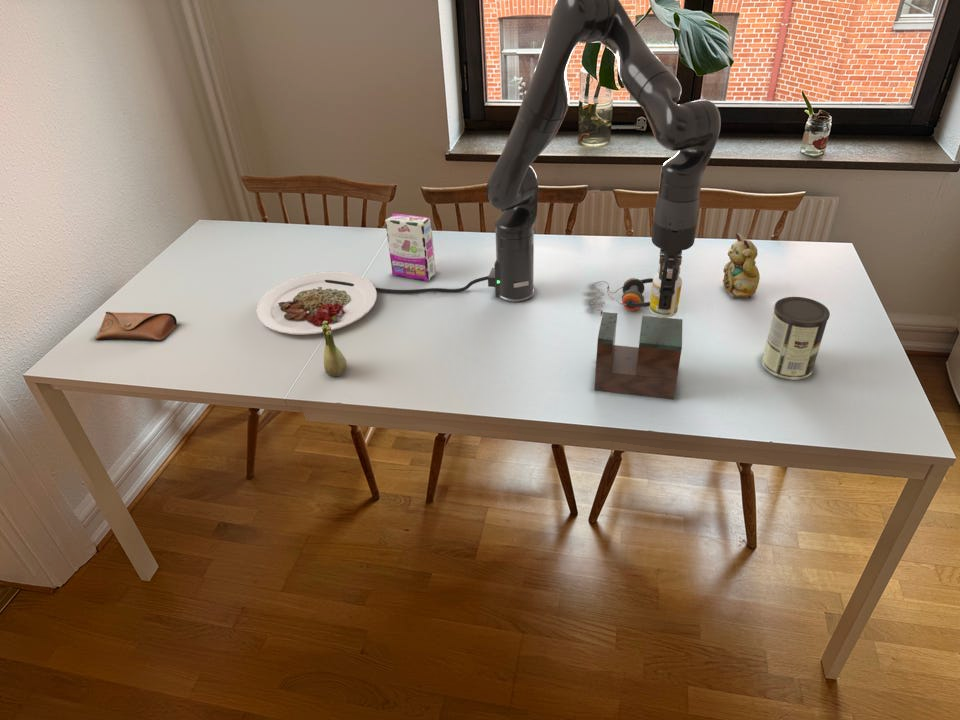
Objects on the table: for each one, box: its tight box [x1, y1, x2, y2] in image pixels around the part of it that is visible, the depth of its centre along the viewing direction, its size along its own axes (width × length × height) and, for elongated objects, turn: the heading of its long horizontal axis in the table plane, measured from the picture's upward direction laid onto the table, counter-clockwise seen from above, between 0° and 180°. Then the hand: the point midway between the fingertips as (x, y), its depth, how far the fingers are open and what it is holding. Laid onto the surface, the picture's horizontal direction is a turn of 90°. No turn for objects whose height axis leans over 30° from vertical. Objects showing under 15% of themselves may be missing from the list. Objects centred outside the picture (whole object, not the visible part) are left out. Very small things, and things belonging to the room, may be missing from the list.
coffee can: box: [761, 296, 831, 381], centre depth 142 cm, size 10×10×14 cm
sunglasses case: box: [94, 311, 178, 341], centre depth 168 cm, size 18×7×7 cm
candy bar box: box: [384, 213, 437, 282], centre depth 181 cm, size 11×5×16 cm, turn 68°
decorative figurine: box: [722, 232, 761, 299], centre depth 167 cm, size 10×8×15 cm
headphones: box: [587, 277, 654, 317], centre depth 168 cm, size 17×5×20 cm
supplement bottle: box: [649, 264, 683, 318], centre depth 130 cm, size 5×5×10 cm
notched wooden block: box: [593, 311, 683, 400], centre depth 140 cm, size 16×10×13 cm, turn 76°
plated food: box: [256, 271, 378, 336], centre depth 173 cm, size 30×30×3 cm
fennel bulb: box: [322, 321, 348, 377], centre depth 148 cm, size 6×5×12 cm
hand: (664, 300), depth 132 cm, fingers closed on supplement bottle, 5 cm apart
